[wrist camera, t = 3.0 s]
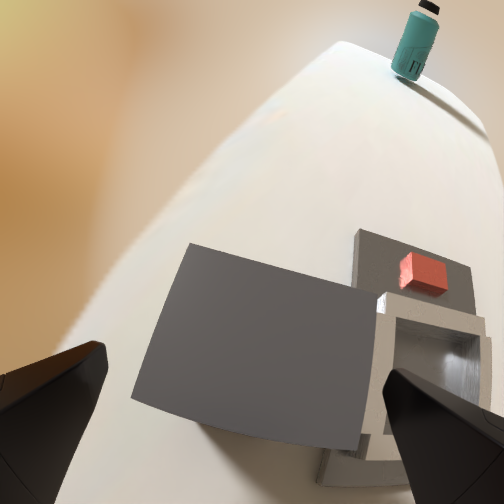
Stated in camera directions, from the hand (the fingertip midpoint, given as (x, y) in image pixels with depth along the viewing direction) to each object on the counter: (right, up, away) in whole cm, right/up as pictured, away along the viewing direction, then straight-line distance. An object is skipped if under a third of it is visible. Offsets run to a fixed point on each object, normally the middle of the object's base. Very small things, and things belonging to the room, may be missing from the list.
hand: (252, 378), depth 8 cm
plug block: (-1, -4, +8) cm, 9 cm away
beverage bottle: (+31, +39, +38) cm, 63 cm away
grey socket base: (+12, -4, +9) cm, 15 cm away
